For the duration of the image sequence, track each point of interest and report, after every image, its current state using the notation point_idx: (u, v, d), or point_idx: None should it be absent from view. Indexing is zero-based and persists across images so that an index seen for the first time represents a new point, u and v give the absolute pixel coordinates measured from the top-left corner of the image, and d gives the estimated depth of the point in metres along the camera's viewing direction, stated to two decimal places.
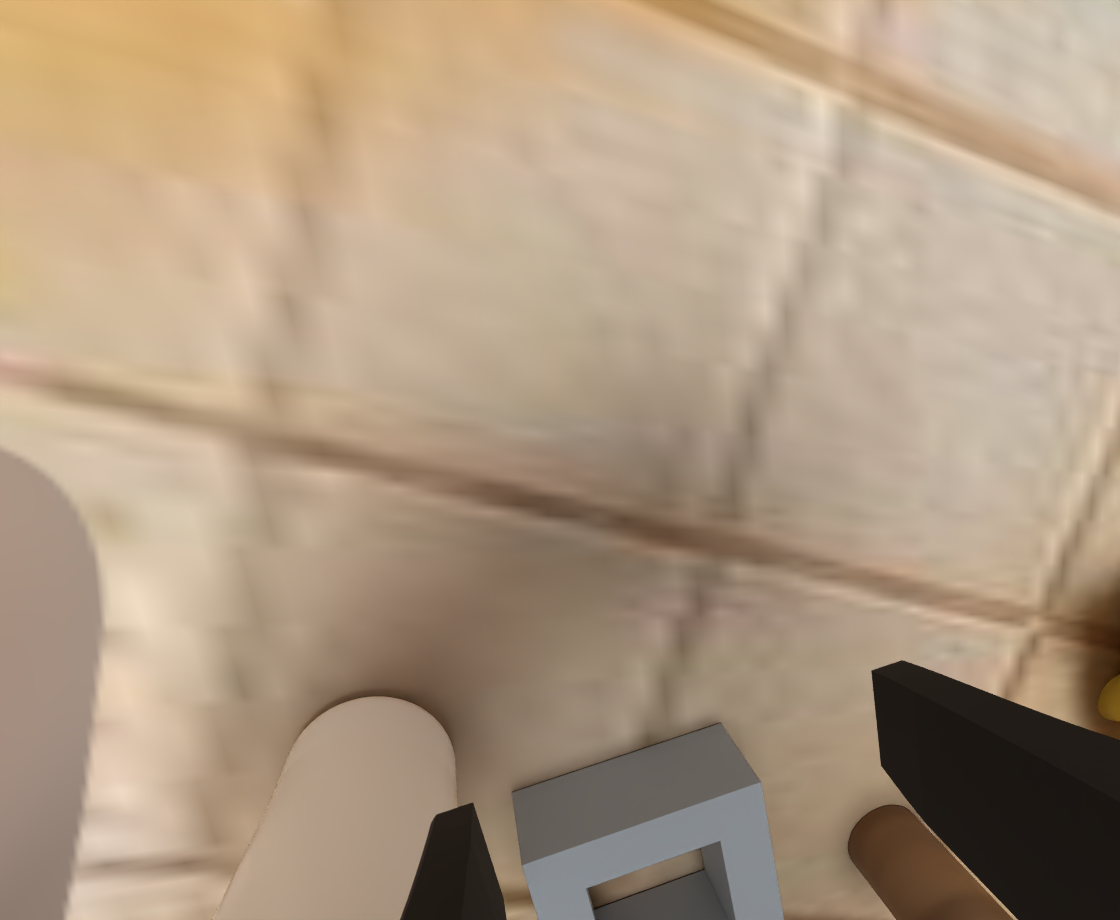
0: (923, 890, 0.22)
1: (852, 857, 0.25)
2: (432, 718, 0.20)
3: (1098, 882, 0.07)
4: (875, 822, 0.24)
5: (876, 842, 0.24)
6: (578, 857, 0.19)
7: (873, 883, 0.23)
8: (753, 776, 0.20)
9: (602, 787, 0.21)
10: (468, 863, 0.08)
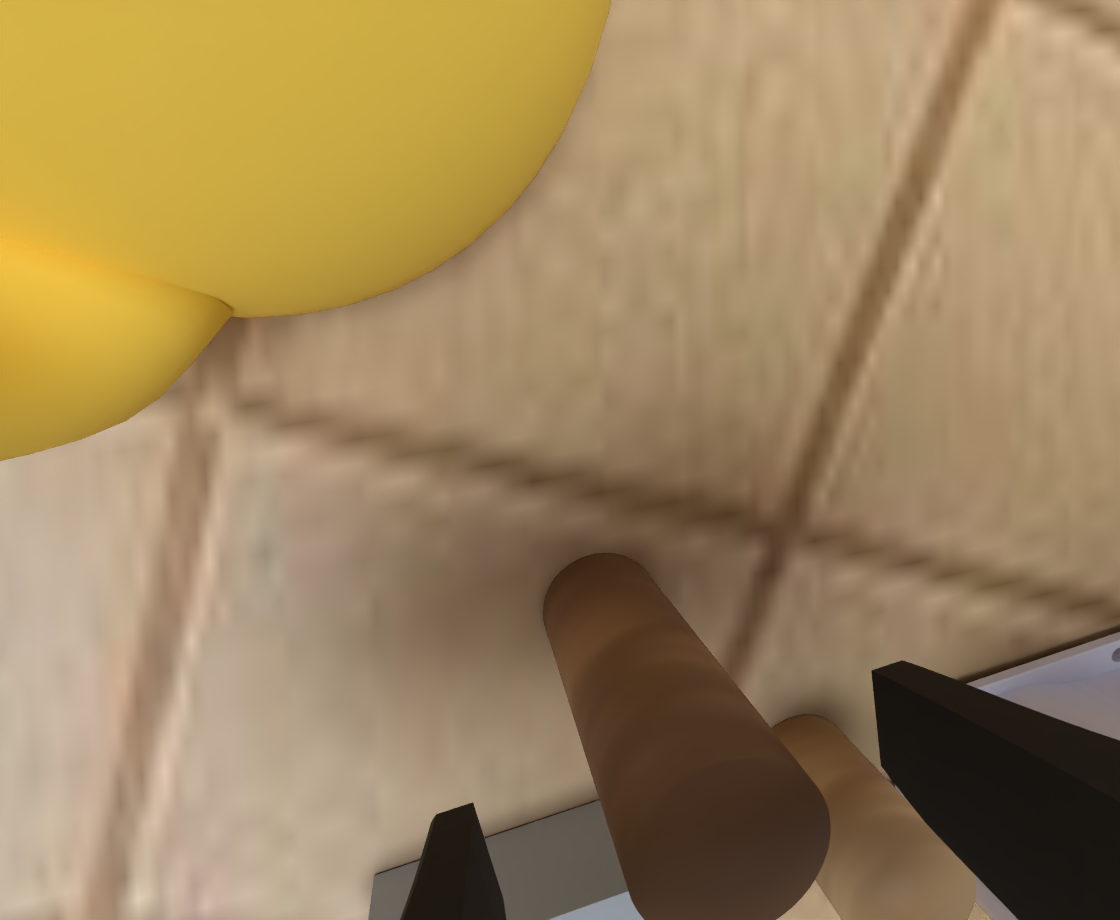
0: None
1: None
2: None
3: (1098, 882, 0.07)
4: None
5: None
6: None
7: None
8: None
9: None
10: (468, 863, 0.08)
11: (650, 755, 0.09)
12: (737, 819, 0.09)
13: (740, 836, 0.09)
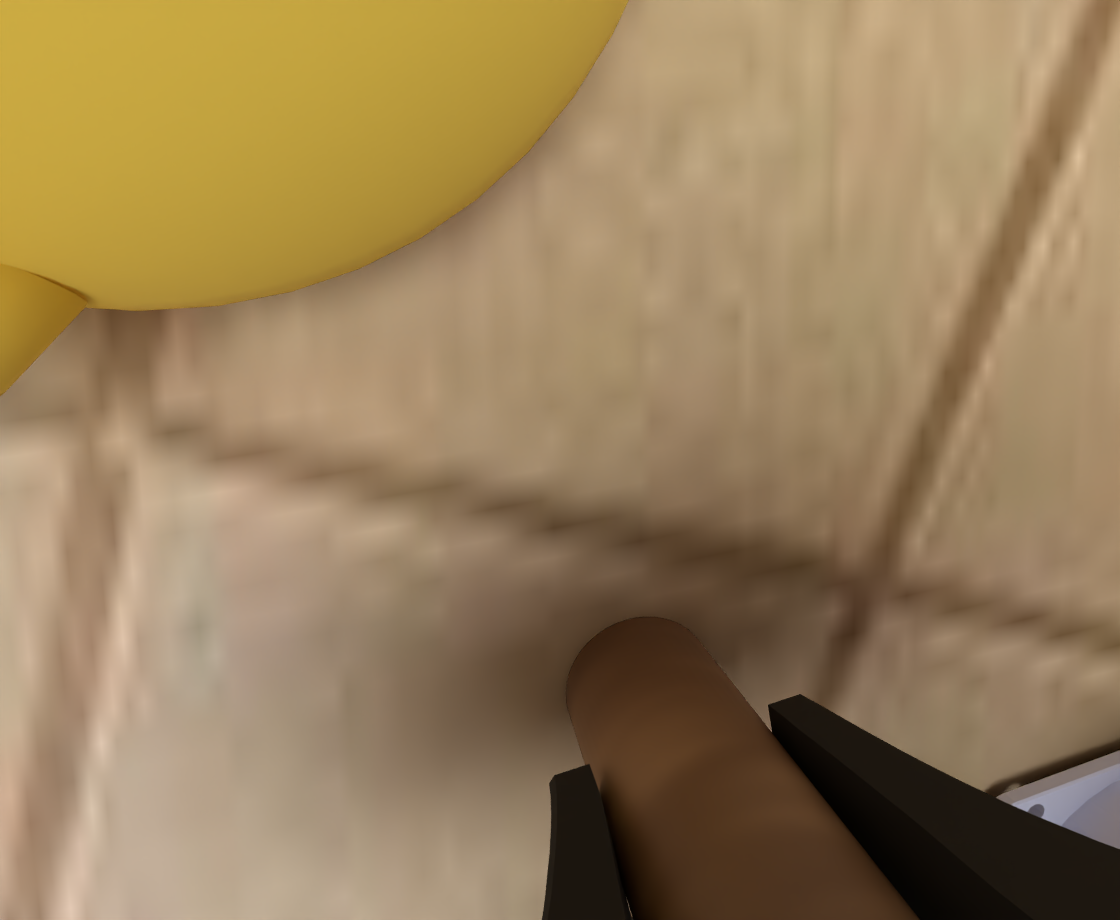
0: None
1: None
2: None
3: None
4: None
5: None
6: None
7: None
8: None
9: None
10: (604, 816, 0.08)
11: None
12: None
13: None
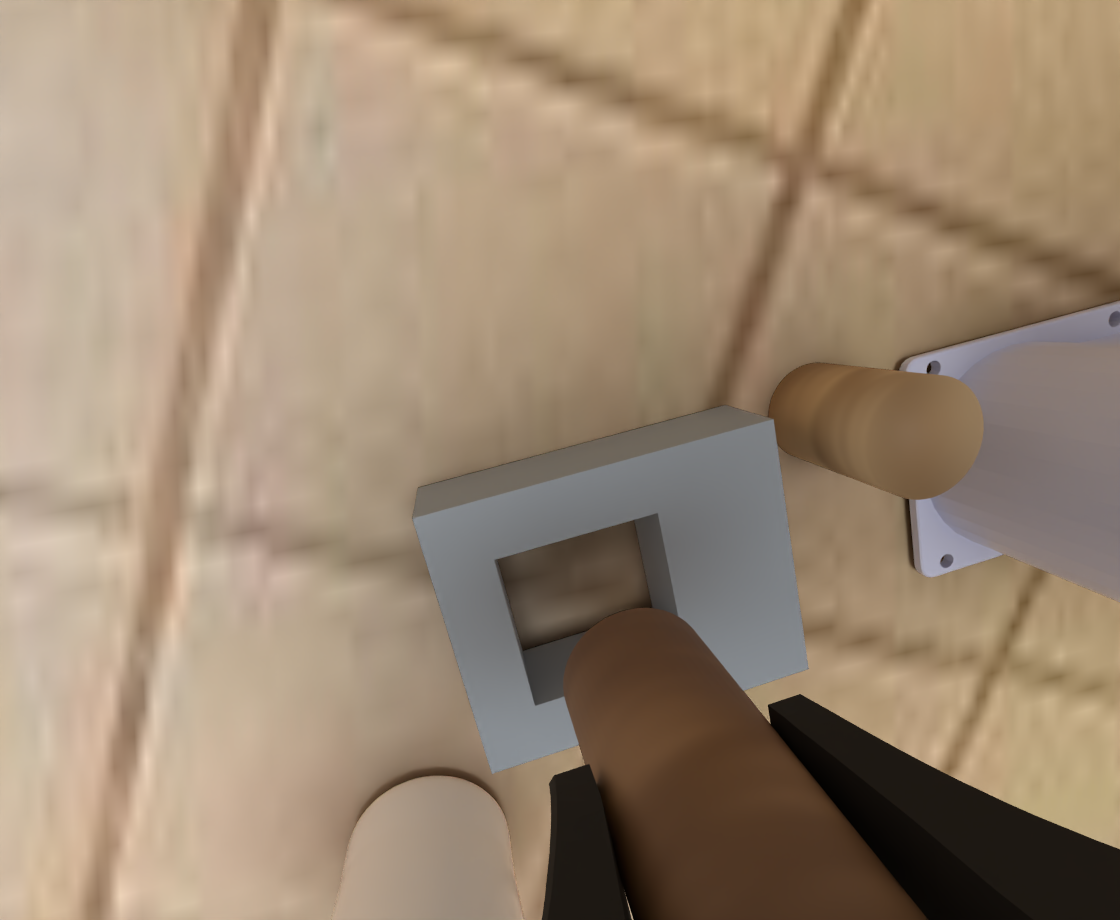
0: None
1: None
2: (371, 806, 0.20)
3: None
4: None
5: None
6: (492, 718, 0.17)
7: None
8: (414, 519, 0.16)
9: None
10: (604, 816, 0.08)
11: None
12: None
13: None
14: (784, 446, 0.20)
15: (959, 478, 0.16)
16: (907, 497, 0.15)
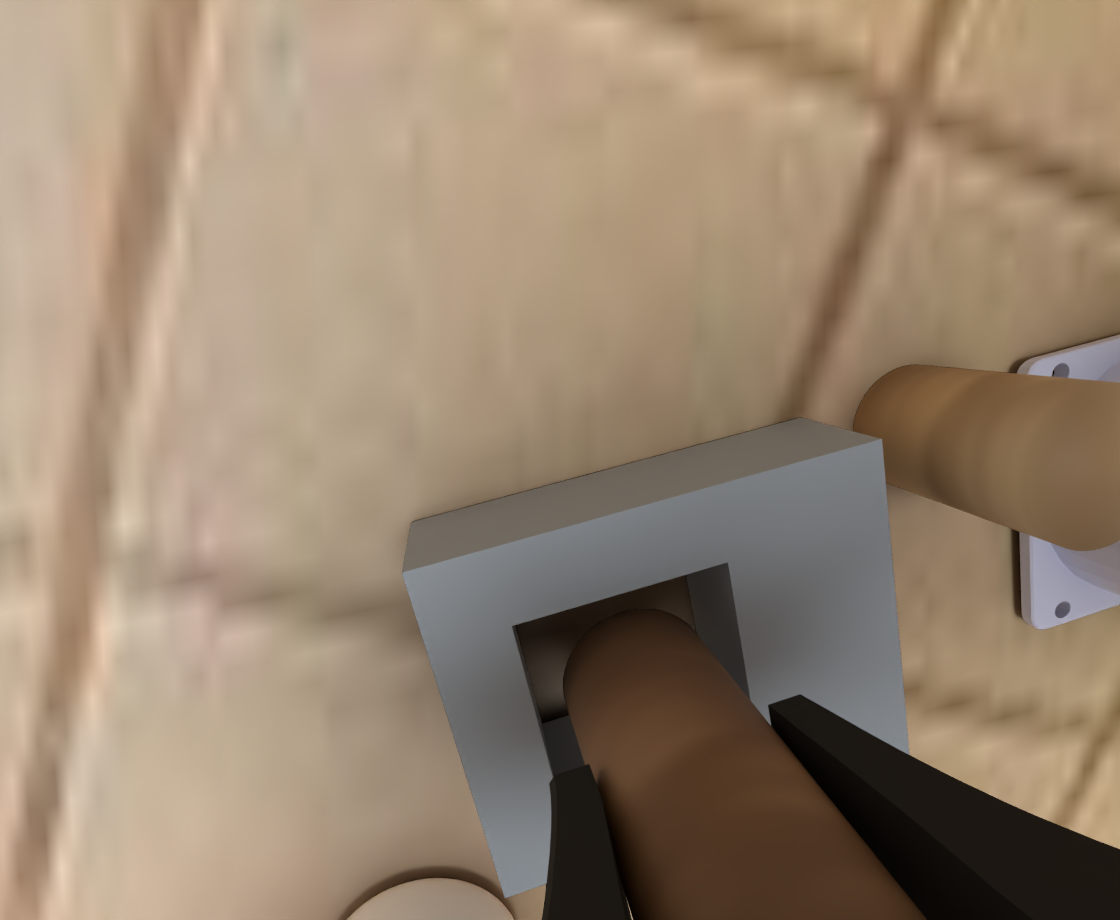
0: None
1: None
2: None
3: None
4: None
5: None
6: (506, 829, 0.13)
7: None
8: (404, 571, 0.12)
9: None
10: (604, 816, 0.08)
11: None
12: None
13: None
14: None
15: None
16: (1071, 548, 0.11)
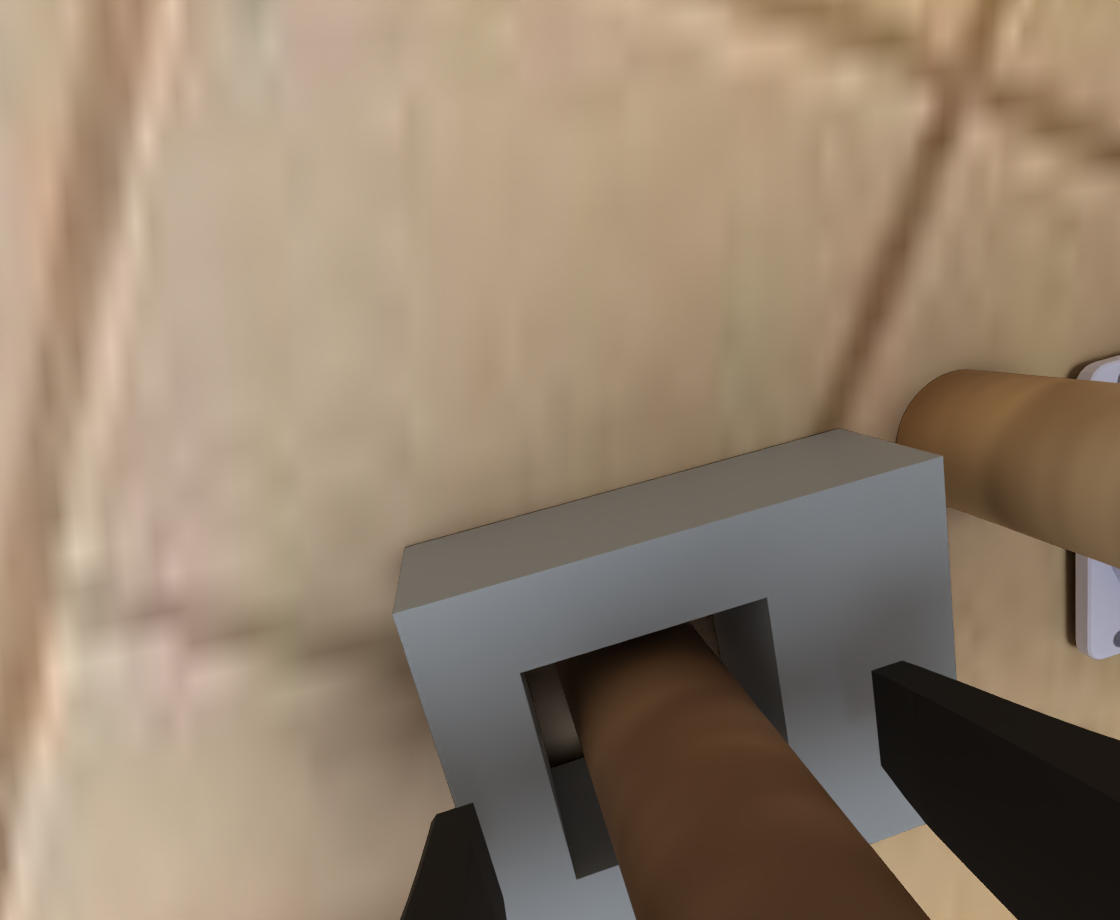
0: None
1: None
2: None
3: (1098, 882, 0.07)
4: None
5: None
6: (513, 901, 0.11)
7: None
8: (395, 611, 0.10)
9: None
10: (468, 863, 0.08)
11: (726, 896, 0.07)
12: None
13: None
14: None
15: None
16: None
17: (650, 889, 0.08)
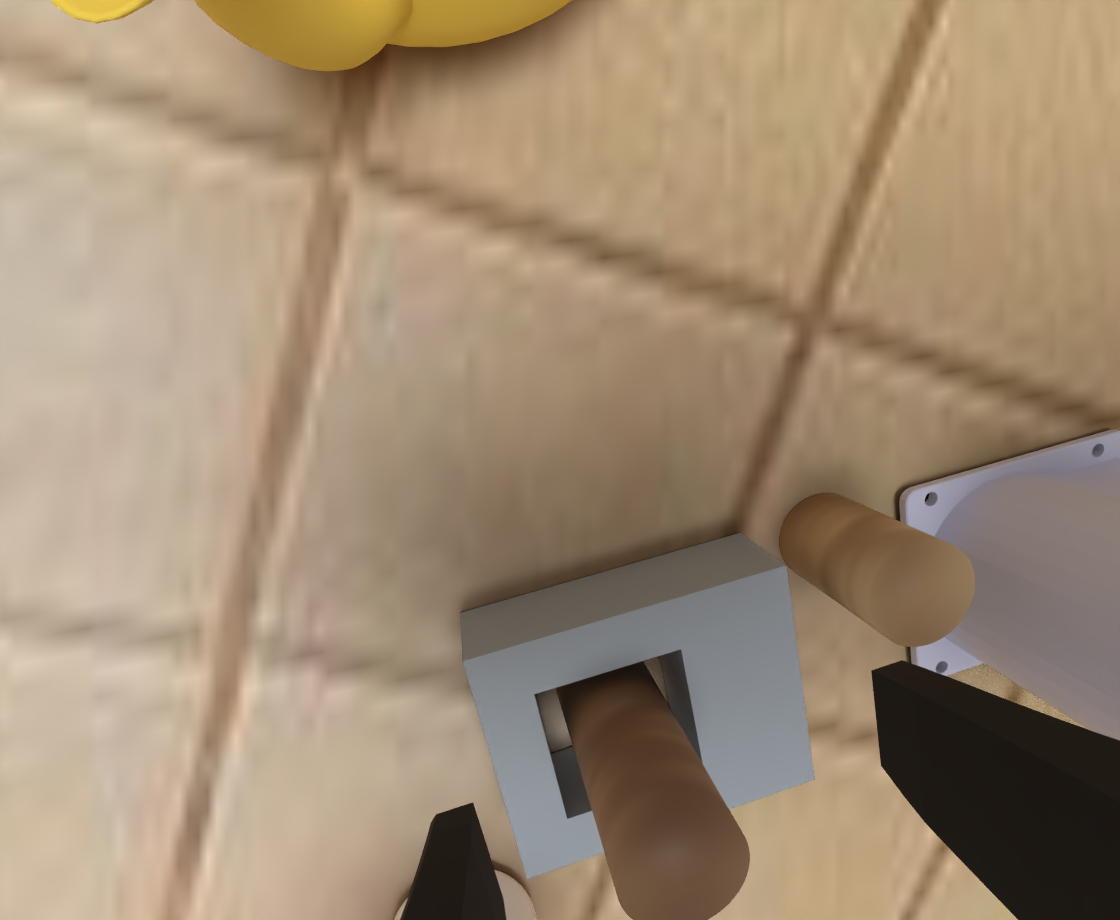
0: None
1: None
2: None
3: (1098, 882, 0.07)
4: None
5: None
6: (528, 831, 0.19)
7: None
8: (463, 658, 0.17)
9: None
10: (468, 863, 0.08)
11: (635, 805, 0.14)
12: (688, 850, 0.14)
13: (690, 862, 0.14)
14: (793, 569, 0.21)
15: (952, 626, 0.18)
16: (906, 645, 0.17)
17: (602, 807, 0.15)
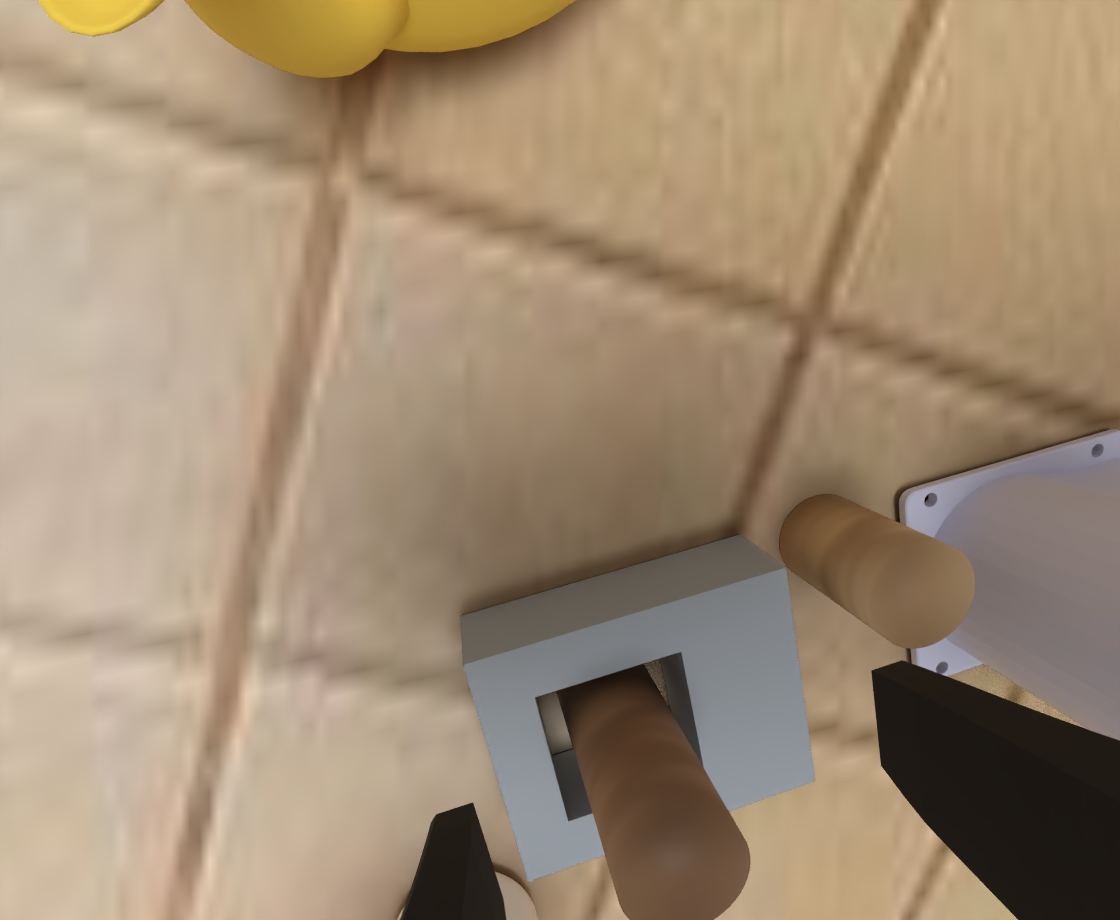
0: None
1: None
2: None
3: (1098, 882, 0.07)
4: None
5: None
6: (529, 834, 0.19)
7: None
8: (463, 662, 0.17)
9: None
10: (468, 863, 0.08)
11: (636, 808, 0.14)
12: (689, 854, 0.14)
13: (691, 865, 0.14)
14: (794, 571, 0.21)
15: (953, 627, 0.18)
16: (906, 647, 0.17)
17: (603, 811, 0.15)
